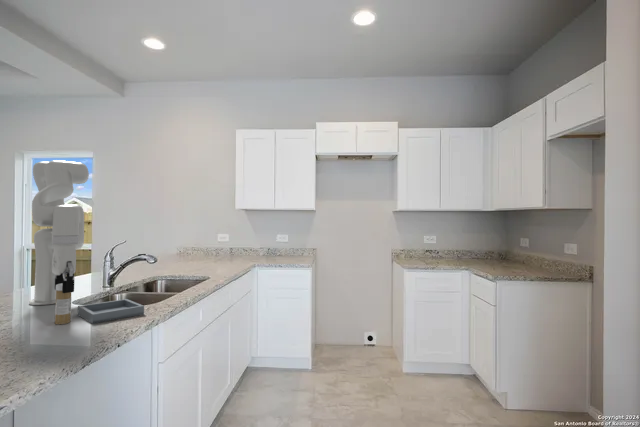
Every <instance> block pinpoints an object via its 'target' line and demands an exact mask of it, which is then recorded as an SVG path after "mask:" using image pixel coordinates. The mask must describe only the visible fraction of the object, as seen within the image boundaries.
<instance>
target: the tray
mask: <svg viewBox="0 0 640 427" xmlns="http://www.w3.org/2000/svg"><path fill="white" fill-rule="evenodd" d="M77 315H78V316H79V317H81V318H82V319H84V320H86V321H87V322H89V323H90V324H100V323H104V322H111V321H115V319H116V320H120V319H126V318H131V317H137V316H142V315H145V305H143V304H141V303H138V302H136V301H133V300H131V299H128V298H123V299H116V300H110V301H103V302H97V303H90V304H82V305H77ZM110 320H111V321H110Z"/></svg>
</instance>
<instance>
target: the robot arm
mask: <svg viewBox="0 0 640 427" xmlns="http://www.w3.org/2000/svg"><path fill="white" fill-rule="evenodd" d="M89 175H90V173H89V169H88V166H87V165H86V164H85V163H83V162H76V161H68V160H67V161H66V160H60V159H59V160H57V159H56V160H55V159H54V160H50V161H39V162H35V163H34V164H33V166H32V177H33V180H34V183H35V185H36V187H37V189H38V192H37V193H36V194H35V195H34V196H33V199H32V202H31V216H32V221H33V223H34V224H35V226H38V227H47V228H42V229H39V230H37V231H36V232H34V234H33V243H34V251H35V268H34V269H35V273H34V295H33V297H34V298H33V299H30V300H29V305H31V306H48V305H54V304H55V305H56V285H57V284H61V283H62V293H70V292H71V293H74V292H75V273H76V269H77V268H76V267H77V250H80V249H82V248H83V246H84V242H85V210H84V208H83V207H82V206H81V205H80V204H74V203H65V199H66V198H68V197H69V198H70V196H71V195H72V194H73V193H74V185H80V184H81V185H82V184H85V183H87V182H88V179H89V177H90V176H89ZM49 227H50V228H49Z"/></svg>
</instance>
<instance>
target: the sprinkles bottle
mask: <svg viewBox="0 0 640 427" xmlns="http://www.w3.org/2000/svg"><path fill="white" fill-rule="evenodd" d="M54 312H55V313H54V315H55V318H54V324H55V325H66V324H69V323H71V313H72V292H70V293H62V283H61V284H57V285H56V304H55V308H54Z"/></svg>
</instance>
